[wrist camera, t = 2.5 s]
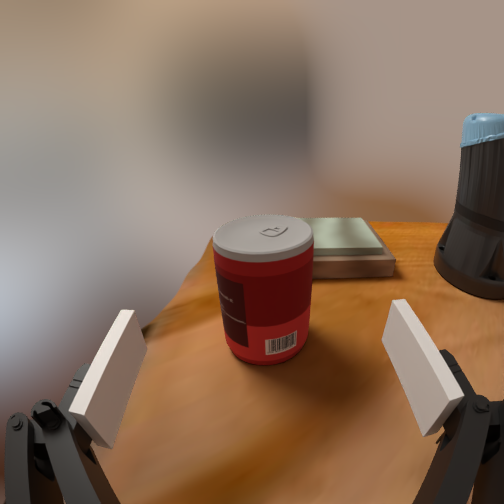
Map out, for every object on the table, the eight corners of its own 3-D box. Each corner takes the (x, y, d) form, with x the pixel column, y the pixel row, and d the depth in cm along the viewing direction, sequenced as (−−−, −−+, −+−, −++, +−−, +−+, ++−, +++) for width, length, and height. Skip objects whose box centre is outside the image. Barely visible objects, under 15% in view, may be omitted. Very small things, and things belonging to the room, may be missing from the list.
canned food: (319, 324, 29) (326, 220, 24) (285, 380, 23) (288, 263, 18) (253, 305, 32) (247, 209, 27) (210, 350, 26) (190, 242, 21)
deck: (365, 234, 48) (367, 214, 46) (392, 276, 35) (397, 252, 34) (237, 235, 50) (236, 216, 48) (224, 279, 37) (221, 255, 36)
